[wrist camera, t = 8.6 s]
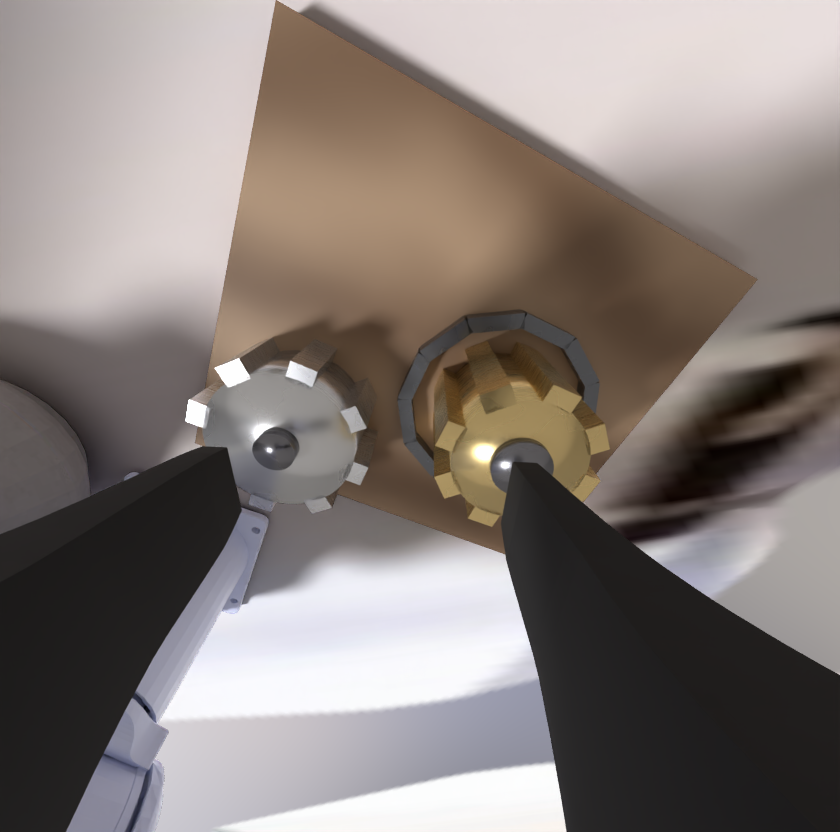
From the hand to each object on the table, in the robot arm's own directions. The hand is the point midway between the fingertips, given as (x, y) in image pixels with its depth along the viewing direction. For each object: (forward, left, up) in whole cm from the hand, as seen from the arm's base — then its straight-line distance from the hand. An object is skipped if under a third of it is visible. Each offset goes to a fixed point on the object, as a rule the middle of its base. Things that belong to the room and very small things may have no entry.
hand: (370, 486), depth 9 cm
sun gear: (-3, +3, -8) cm, 9 cm away
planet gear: (+1, -5, -8) cm, 9 cm away
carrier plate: (+1, -2, -9) cm, 9 cm away
